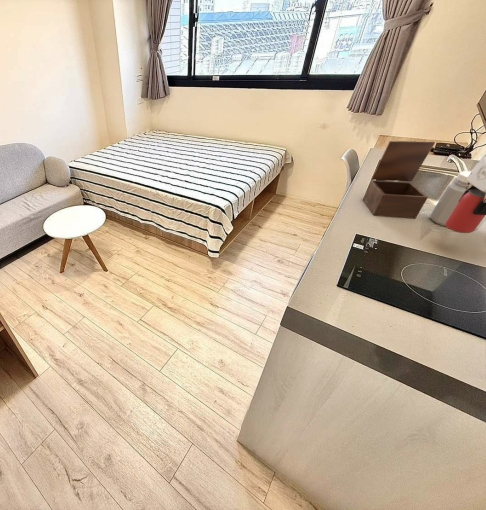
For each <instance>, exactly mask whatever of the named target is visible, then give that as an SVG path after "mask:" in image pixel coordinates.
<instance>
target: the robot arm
mask: <svg viewBox="0 0 486 510" xmlns="http://www.w3.org/2000/svg"><path fill="white" fill-rule="evenodd" d="M470 171H471V173H470V174H469V176H468V178H467V181H468V186H467V187H466V191H465V192H464V194H463V195H462V197H463V196H464V195H465V194H466V193H468V192H469V190H472V189H479V190H481V191H483V192H486V152H485V153H484V154H483V155H482V156H481V157H480V159H479V160H478V161H477V163H476V164H475V166H474V167H473V168H472V170H470ZM462 197H461V198H462ZM460 200H461V199H460ZM460 200H459V201H460ZM473 214H475V215H485V216H486V194H485V197H484V200H483V201H480V203H479V204H478V206H477V207H476V209H475V210H474V211H473Z"/></svg>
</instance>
